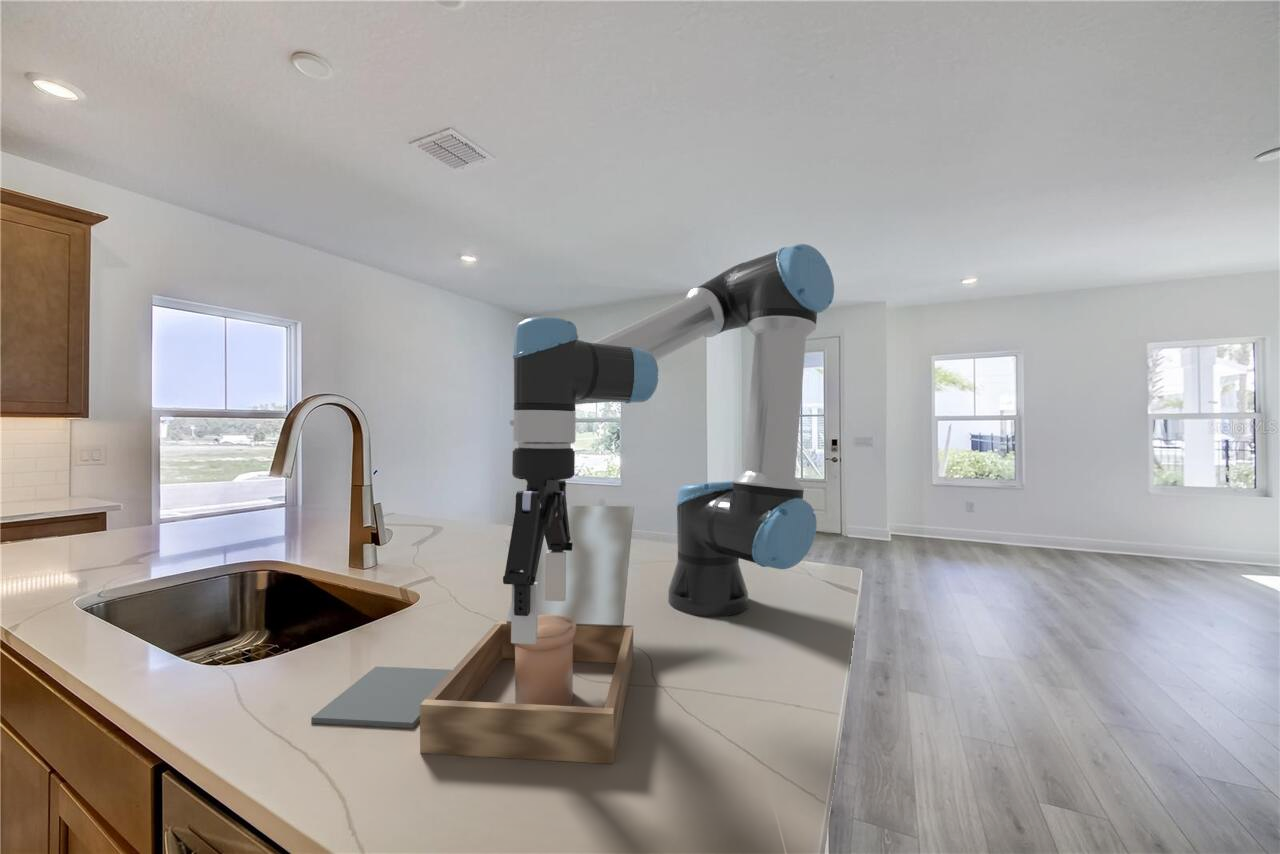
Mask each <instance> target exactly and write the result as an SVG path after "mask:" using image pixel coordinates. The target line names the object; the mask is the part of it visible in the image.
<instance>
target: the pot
mask: <svg viewBox="0 0 1280 854" xmlns="http://www.w3.org/2000/svg"><path fill="white" fill-rule="evenodd" d="M575 637H576V623H575V621H574V620H573V619H571V618H569V617H566V616H561V615H538V626H537V642H536V644H520V643H513V644H514V645H515V659H514V704H535V705H556V706H571V704H572V703H573V700H574V698H573V697H574V694H573V693H574V661H573V640H574V639H575Z"/></svg>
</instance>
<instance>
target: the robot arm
mask: <svg viewBox="0 0 1280 854" xmlns="http://www.w3.org/2000/svg"><path fill="white" fill-rule="evenodd" d="M834 282H835V281H834V277H833V274H832V271H831V267H830V266H829V264H828V262H827V260H826V258H825V257H824V255H823V254H822V253H821V252H820V251H819V250H818V249H817V248H816V247H813V246H812V245H810V244H806V243H798V244H795V245H792V246H787V247H786V246H785V247H781V248H779V249H778V250H777V251H774V252H773V251H772V252H771V253H769V254H766V255H763V256H759V257H756V258H753V259H751V260H747V261H745V262H741V263H739V264H736V265H734V266H732V267H730V268H728V269H727V270H725V271H723V272H721V273H719V274H717V275H716V276H715V277H712V278H711V279H710V280H708V281H706V282H705V283H703V284H701V285H698V287H694V288H693V289H690V291H689V292H688V293H687V294H686V296H685V298H684V299H682V300H680V301H678V302H676V303H673V304H671V305H669V306H667V307H665V308H662V309H661V310H659V311H657V312H654V313H653V314H650V315H648V316H646V317H643V318H642V319H640V320H638V321H635V322H634V323H631V324H628V325H627V326H625V327H623V328H621V329H618V330H616V331H614V332H613V333H610V334H608V335H605V336H604V337H602V338H600V339H598V340H595V341H593V342H587V341H583V340H579V335H578V330H577V329H578V328H577V326H576V325H575V323H574V322H572V320H571V321H570V320H566V319H564V318H559V317H553V316H551V317H549V316H536V317H529V318H526V319H523V320H521V321H520V322H519V323H518V324H517V325H516V329H515V335H514V346H513V354H512V355H513V356H512V359H513V400H514V401H513V417H512V418H511V419H510V420H509V425H510V426H511V427H513V431H512V432H513V435H512V437H513V438H512V439H513V442H514V443H515V444H518V445H517V446H518V447H515V448H514V449H513V450H512V463H511V464H512V466H511V467H512V469H511V471H512V472H511V473H512V476H513V478H515V479H518V480H525V481H526V482H527V483H526V488H525V489H526V490H517V491H516V495H515V506H514V507H515V509H514V516H513V523H512V527H511V528H512V529H511V533H510V535H511V536H510V541H509V546H508V552H507V558H506V565H505V569H504V570H505V571H504V575H502V583H503V585H511V602H512V610H511V643H520V644H536V642H537V626H538V582H535V580H536V573H537V568H538V564H539V559H540V554H541V549H542V544H543V540H544V535H545V538H546V542H547V546H548V550H551V551H547V552H546V557H545V601H565V600H566V552H564V550H565V551H572V546H573V544H572V543H569V542H570V539H571V538H570V532H569V522H568V513H567V506H568V504H567V496H566V495H567V491H566V490H567V487H566V486H567V483H566V482H567V481H566V480H569V479H572V478H573V477H574V475H575V469H576V468H575V466H576V465H575V463H576V462H575V461H576V458H575V457H576V453H575V452H576V451H575V450H574V448H571V445H572V444H575V442H576V426H577V425H576V423H577V422H576V419H577V417H576V413H577V412H576V405H584V404H599V403H600V404H601V403H625V404H631V403H644V402H647V401H648V400H649V399H651V398H652V397H653V395H654V394H655V392H656V390H657V386H658V383H659V367H658V366H659V365H658V363H657V361H659V360H661V359H663V358H665V357H667V356H668V355H670V354H672V353H674V352H676V351H677V350H680V349H681V348H683V347H685V346H688V345H690V344H691V343H693V342H695V341H697V340H698V339H700V338H702V337H704V338H713V337H715V336H717V335H718V334H721V333H724V332H727V331H730V330H734V329H735V330H736V329H739V328H743V327H746V328H747V329H748V331H750V332H751V334H752V335H754V343H753V355H752V365H751V367H752V368H751V378H750V391H749V401H748V402H749V403H748V412H747V424H746V425H747V426H746V435H745V437H746V438H745V448H744V460H743V461H744V462H743V471H742V472H741V473H740V474H739V475H738V476H737V477H736V478H735V479H734V480H731V481H729V480H728V481H714V482H713V481H711V482H701V483H699V482H698V483H689V484H683V485H682V486H680V487H679V489H678V494H677V503H676V517H677V518H676V524H677V525H676V527H677V535H676V538H677V540H676V541H677V561H676V565H675V568H674V571H673V575H672V578H671V581H670V584H669V587H668V598H667V599H668V603H669V605H670V607H672V608H673V609H674V610H676V611H679V612H681V613H685V614H689V615H692V616H699V617H710V618H711V617H712V618H714V617H728V616H733V615H736V614H740V613H742V612H744V611H746V610H747V609H748V607H749V592H748V589H747V585H746V582H745V579H744V575H743V573H742V569H741V566H740V563H739V561H740V560H743V561H747V562H750V563H753V564H756V565H758V566H760V567H764V568H772V569H776V570H777V569H778V570H788V569H791V568H793V567H795V566H797V565H799V564H800V563H801V562H802V561H803V559H804V558H805V556H807V555H808V553H809V552H810V550H811V549H812V546H813V544H814V540H815V538H816V533H817V525H818V524H817V523H818V522H817V516H816V514H815V513H814V512H815V510H814V507H813V506H812V505H811V504H810V503H809V502H807V500H804V492H805V491H804V487H803V485H802V484H801V483H800V482H799V480H798V479H797V477H796V472H797V471H796V468H797V458H798V457H797V456H798V445H799V433H800V432H799V429H800V416H801V406H802V405H801V404H802V393H803V392H802V391H803V379H804V366H805V365H804V364H805V354H806V339H807V337H809V336H810V335H811V334H812V333H813V332H815V331H816V328H817V322H818V321H817V319H818V314H819V313H822V312H824V311H826V310H827V309H828V308H829V307H830V305H832V303H833V300H834V297H835V283H834ZM739 559H740V560H739ZM521 570H523V572H520V571H521Z"/></svg>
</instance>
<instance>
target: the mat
mask: <svg viewBox="0 0 1280 854" xmlns="http://www.w3.org/2000/svg"><path fill="white" fill-rule="evenodd" d="M452 670H453V669H443V668H422V667H421V668H417V667H401V666H400V667H398V666H397V667H395V666H374V667H373V668H371V669H370V670H369V671H368V672H367V673H365V674H364V675H363V676H362V677H360V679H358V680H357V681H355V682H354V683H353V684H352V685H351V686H348V688H346V689H345V690H344V691H343V692H341V693H339V695H337V697H335V698H334V699H332V701H331V702H329V703H328V704H326V705H325V706H324V707H322V708H321V709H320V710H319V711H318V712H316V713H315V714H314V715H312V716H311V717H310V718H311V719H310V720H311V724H328V725H346V726H347V725H349V726H363V727H364V726H365V727H366V726H367V727H369V726H370V727H386V728H387V727H388V728H401V729H403V728H405V729H414V727H415V726H416V725H417V724H418V723H420V704H421V703H422V702H423V701H424V700H425V699H426V698H427V697H428V696H429V694H430V693H431V692H432V691H433V690H434V689H435V688H436V687H437V686H438V685H439V684H440V683H441V682H442V680H443V679H444V678H445V677H446V676H447V675H448V674H449V673H450V672H451V671H452Z"/></svg>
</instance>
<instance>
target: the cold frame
mask: <svg viewBox="0 0 1280 854" xmlns="http://www.w3.org/2000/svg"><path fill="white" fill-rule="evenodd" d="M634 508H635V507H634V506H622V505H621V506H620V505H617V506H614V505H613V506H611V505H610V506H609V505H567V513H568V522H569V532H570V538H571V539H570V542H569V543H572V544H573V546H572V551H565V550H564V552H566V600H565V601H545V557H546V552H547V551H551V550H548V546H547V542H546V538H545V535H544V540H543V544H542V549H541V554H540V559H539V564H538V568H537V573H536V580H535V582H538V615H561V616H566V617H569V618H571V619H573V620H574V621H575V623H576V637H575V639H574V640H573V662H579V663H581V662H583V663H584V662H585V663H607V664H609V663H610V664H612V663H613V664H615V666H614V669H613V670H614V671H613V674H612V677H611V681H610V685H609V688H608V692H607V695H606V699H605V703H604V707H596V706H595V707H594V706H576V705H575V706H574V705H569V706H556V705H535V704H515V703H511V702H490V701H489V702H488V701H487V702H485V701H471V700H472V698H473V697H474V696H475V694H476V693H477V692H478V691H479V689H481V687H482V686H483V684H484V683H485V681H487V679H488V678H489V676H490V675H491V673H492V672H493V671H494V670H495V668H496V667H497V665H498V664H499V663H500V662H501V660H503V659H506V660H508V659H510V660H515V645H514V644H513V643H511V610H512V601H511V603H510V605H509V610H508V611H507V612H508V613H507V616H506V620H505V621H504V620H497V621H496V623H494V625H493V626H492V627H491V628H490V629H488V631H487V632H486V633H485V634H484V635H483V637H481V638H480V640H478V642H477V643H475V645H474V646H473V647H472V648H471V649H470V650H469V651H468V652H467V653H466V654H465V656H464V657H463V658H462V659H461V660H460V661H459V662H458V663H457V665H456V666H455V667H454V668H453V669H451V670H452V671H451V672H450V673H449V674H448V675H447V676H446V677H445V678H444V679H443V680H442V682H441V683H440V684H439V685H438V686H437V687H436V688H435V689H434V690H433V691H432V692H431V693H430V694H429V696H428V697H427V698H426V699H425V700H424V701H423V702H422V703H421V704H420V721H419V753H420V754H429V755H430V754H431V755H445V756H447V755H448V756H449V755H450V756H463V757H464V756H465V757H466V756H468V757H484V758H485V757H487V758H501V759H503V758H504V759H517V760H518V759H519V760H522V759H523V760H537V761H538V760H539V761H553V762H554V761H555V762H557V761H558V762H572V763H573V762H574V763H575V762H576V763H592V764H609V765H613V764H614V758H615V754H616V749H617V744H618V743H617V742H618V740H619V739H618V738H619V735H620V734H619V732H620V728H621V723H622V719H623V715H624V710H625V709H624V708H625V703H626V700H627V699H626V698H627V693H628V688H629V683H630V678H631V674H632V673H631V672H632V668H633V664H634V625H628V624H627V625H625V624H624V618H625V606H626V597H627V596H626V595H627V587H628V576H629V575H628V574H629V566H630V565H629V564H630V554H631V543H632V542H631V541H632V535H633V534H632V533H633V532H632V531H633V524H634V523H633V522H634V514H635V513H634V511H635V509H634ZM520 572H523V570H521V571H520Z"/></svg>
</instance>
